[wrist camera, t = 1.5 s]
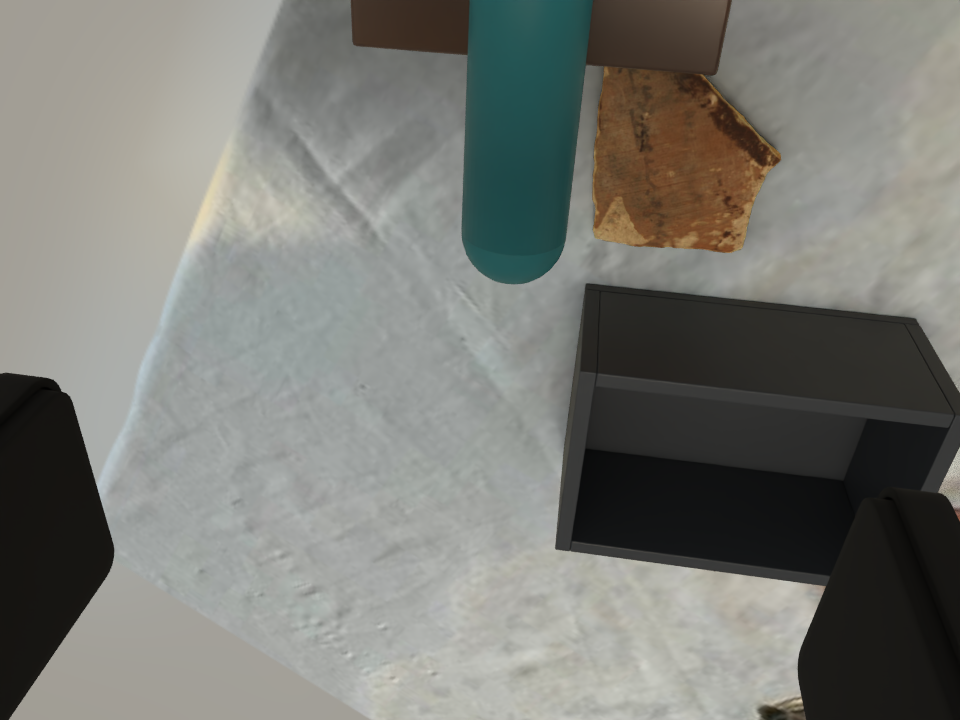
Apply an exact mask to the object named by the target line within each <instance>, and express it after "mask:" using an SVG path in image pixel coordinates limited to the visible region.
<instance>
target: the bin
mask: <svg viewBox="0 0 960 720" xmlns="http://www.w3.org/2000/svg"><path fill="white" fill-rule="evenodd" d="M959 447H960V393H959V391H958V389H957V388H956V386H955V384H954V383H953V381H952V379H951V378H950V376H949V374H948V372H947V371H946V369H945V367H944V366H943V364H942V362H941V361H940V359H939V357H938V355H937V354H936V352H935V350H934V349H933V347H932V345H931V344H930V342H929V340H928V338H927V337H926V335H925V333H924V332H923V330H922V328H921V327H920V326H919V323H918V322H917V320H916V319H911V318H901V317H892V316H882V315H873V314H864V313H854V312H845V311H836V310H826V309H817V308H807V307H798V306H789V305H779V304H770V303H760V302H751V301H742V300H732V299H723V298H713V297H704V296H695V295H685V294H676V293H667V292H657V291H648V290H638V289H629V288H620V287H610V286H601V285H591V284H586V286H585V294H584V301H583V309H582V316H581V324H580V331H579V339H578V346H577V354H576V361H575V369H574V377H573V384H572V392H571V399H570V407H569V414H568V422H567V429H566V437H565V444H564V454H563V465H562V476H561V488H560V499H559V511H558V522H557V534H556V545H555V549H556V550H564V551H572V552H580V553H587V554H594V555H602V556H609V557H616V558H624V559H631V560H638V561H646V562H653V563H660V564H668V565H675V566H682V567H689V568H697V569H704V570H711V571H719V572H726V573H733V574H741V575H748V576H755V577H763V578H770V579H777V580H785V581H792V582H799V583H807V584H814V585H821V586H827V583H828V581H829V578H830V576H831V574H832V571H833V569H834V566H835V564H836V561H837V559H838V557H839V554H840V552H841V549H842V547H843V545H844V542H845V540H846V537H847V535H848V532H849V530H850V528H851V525H852V523H853V520H854V518H855V515H856V513H857V511H858V508H859V506H860V504H861V502H862V501H863V500H864V499H865V498H868V497H870V498H877V497H878V496H879V494H880V492H881V491H882V490H883V489H884V488H886V487H895V488H902V489H910V490H918V491H926V492H933V493H938V491H939V488H940V486H941V484H942V482H943V480H944V478H945V476H946V474H947V472H948V470H949V468H950V466H951V464H952V462H953V459H954V457H955V455H956V453H957V451H958V449H959Z"/></svg>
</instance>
